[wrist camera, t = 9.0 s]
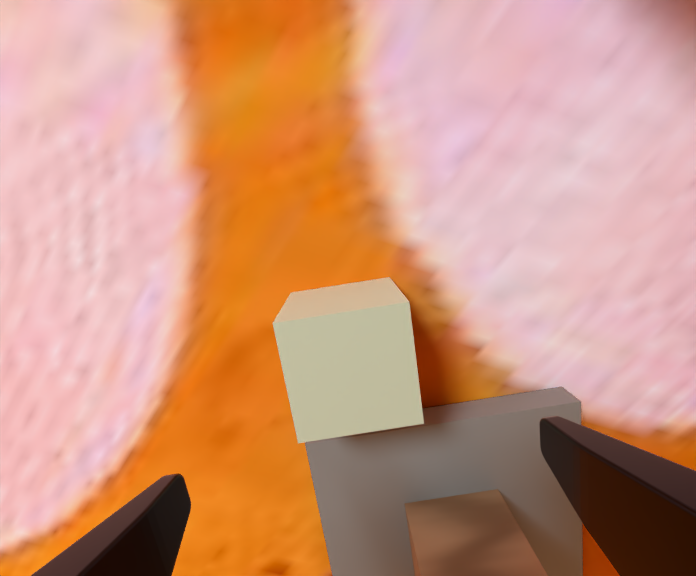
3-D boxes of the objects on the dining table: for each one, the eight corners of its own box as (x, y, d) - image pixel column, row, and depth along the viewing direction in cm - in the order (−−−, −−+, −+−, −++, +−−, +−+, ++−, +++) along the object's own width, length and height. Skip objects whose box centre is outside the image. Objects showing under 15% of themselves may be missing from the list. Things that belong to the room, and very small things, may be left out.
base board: (561, 386, 19) (580, 401, 17) (566, 587, 22) (583, 614, 20) (307, 426, 19) (305, 444, 17) (347, 620, 22) (348, 649, 20)
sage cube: (389, 276, 17) (409, 301, 12) (401, 367, 18) (424, 423, 14) (291, 292, 17) (272, 323, 13) (308, 382, 18) (298, 443, 14)
